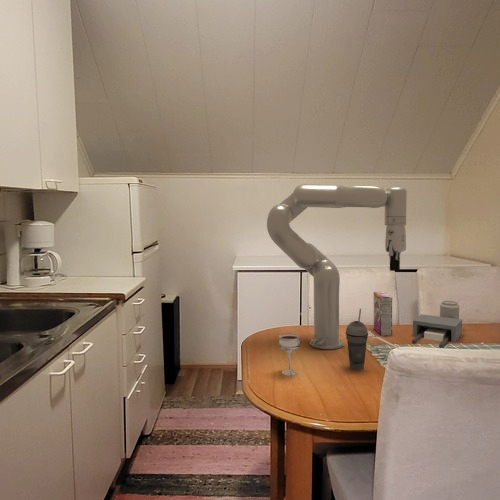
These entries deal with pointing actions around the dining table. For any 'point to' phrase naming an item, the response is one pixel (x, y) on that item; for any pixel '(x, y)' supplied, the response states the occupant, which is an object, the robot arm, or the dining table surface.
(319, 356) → the dining table surface
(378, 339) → the fork
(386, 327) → the candy bar box
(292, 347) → the wineglass
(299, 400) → the dining table surface
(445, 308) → the can
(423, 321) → the low shelf
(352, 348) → the beverage cup
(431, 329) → the cream rectangular block
